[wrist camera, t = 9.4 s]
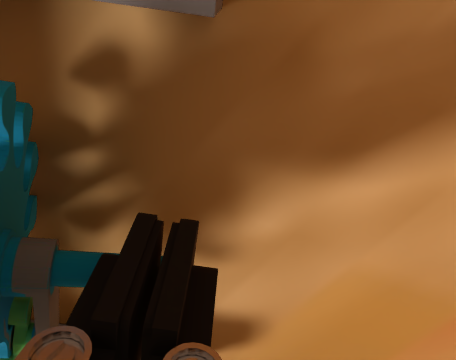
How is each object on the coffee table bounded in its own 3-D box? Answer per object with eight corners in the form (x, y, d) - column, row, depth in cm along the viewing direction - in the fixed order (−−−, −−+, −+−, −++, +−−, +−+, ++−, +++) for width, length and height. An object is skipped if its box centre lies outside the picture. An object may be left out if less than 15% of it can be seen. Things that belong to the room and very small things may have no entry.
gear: (-25, 4, 11) (-375, 408, 4) (187, 49, 12) (223, 388, 5) (9, 245, 18) (-88, 539, 11) (141, 253, 20) (130, 513, 13)
